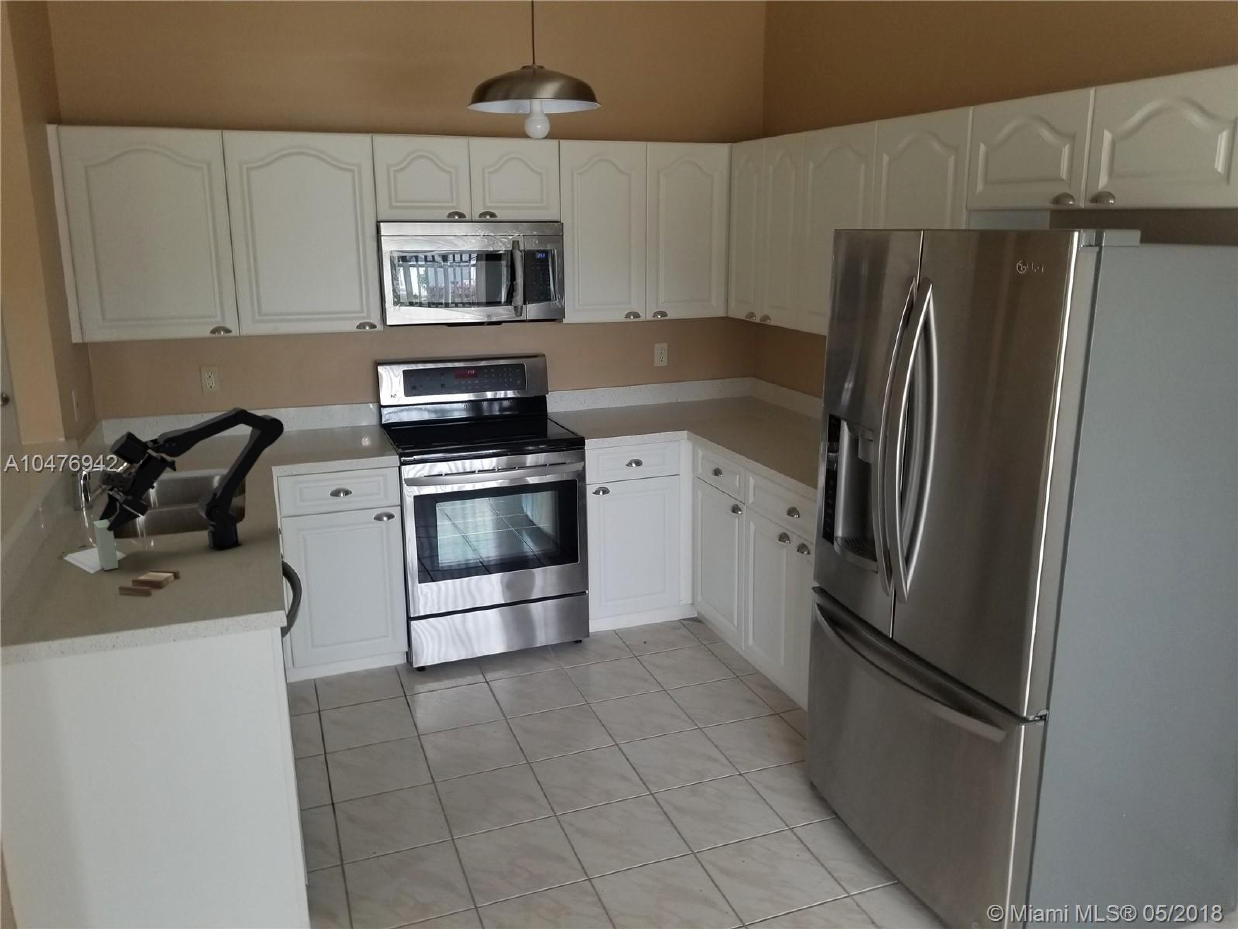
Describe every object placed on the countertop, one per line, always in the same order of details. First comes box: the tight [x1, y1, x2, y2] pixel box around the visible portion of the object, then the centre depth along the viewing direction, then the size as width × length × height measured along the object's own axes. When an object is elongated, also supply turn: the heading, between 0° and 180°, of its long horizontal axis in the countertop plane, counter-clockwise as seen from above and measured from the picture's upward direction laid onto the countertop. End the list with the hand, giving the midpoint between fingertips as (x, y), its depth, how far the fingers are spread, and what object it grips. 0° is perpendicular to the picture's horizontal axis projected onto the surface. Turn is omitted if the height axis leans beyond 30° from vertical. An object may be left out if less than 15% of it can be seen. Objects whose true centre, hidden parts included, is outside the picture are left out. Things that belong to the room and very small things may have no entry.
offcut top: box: [137, 572, 174, 582], centre depth 222 cm, size 4×6×1 cm, turn 80°
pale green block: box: [93, 519, 119, 571], centre depth 231 cm, size 3×6×11 cm, turn 39°
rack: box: [117, 568, 181, 597], centre depth 220 cm, size 12×8×3 cm, turn 170°
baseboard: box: [57, 543, 128, 574], centre depth 235 cm, size 31×3×12 cm
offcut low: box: [164, 577, 174, 585], centre depth 222 cm, size 4×6×1 cm, turn 80°
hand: (104, 526), depth 229 cm, fingers open, 9 cm apart
